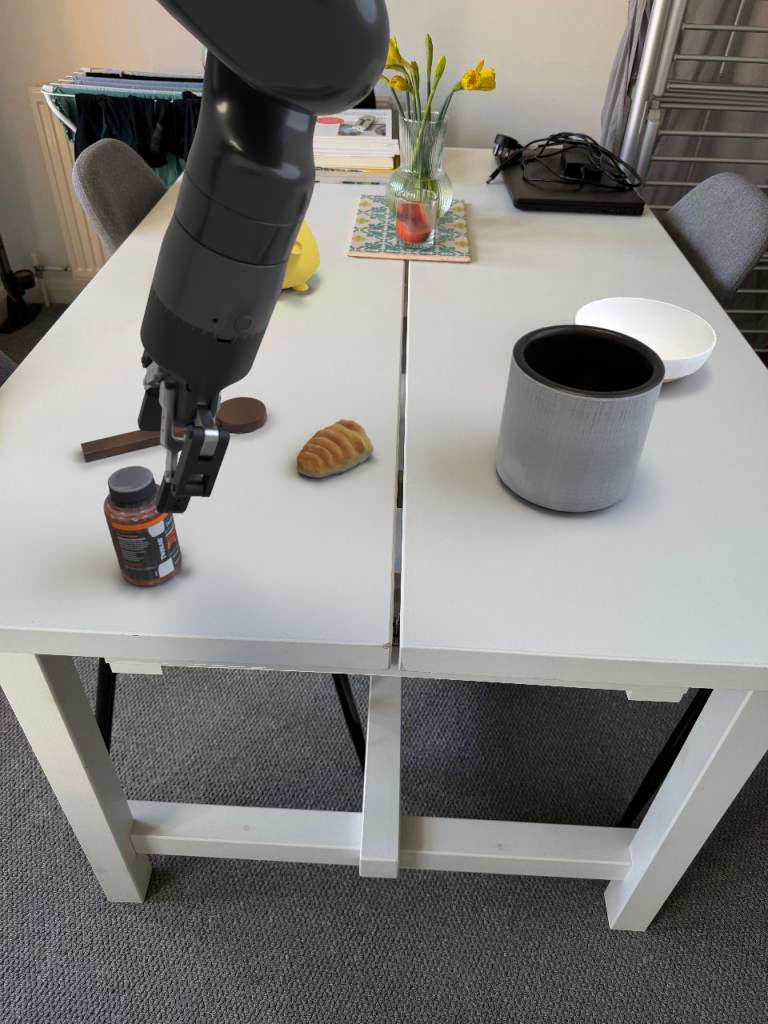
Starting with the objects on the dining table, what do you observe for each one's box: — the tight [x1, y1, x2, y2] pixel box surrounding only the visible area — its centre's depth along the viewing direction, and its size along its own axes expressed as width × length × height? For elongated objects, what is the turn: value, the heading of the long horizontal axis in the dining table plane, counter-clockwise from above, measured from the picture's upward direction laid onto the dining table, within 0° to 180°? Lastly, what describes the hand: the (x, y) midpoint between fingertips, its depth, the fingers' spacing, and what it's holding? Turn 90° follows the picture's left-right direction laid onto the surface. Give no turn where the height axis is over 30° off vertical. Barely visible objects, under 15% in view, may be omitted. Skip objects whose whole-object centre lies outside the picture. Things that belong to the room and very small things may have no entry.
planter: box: [495, 324, 665, 513], centre depth 81 cm, size 16×16×16 cm
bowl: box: [573, 296, 717, 383], centre depth 105 cm, size 20×20×6 cm
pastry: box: [296, 418, 374, 479], centre depth 86 cm, size 9×7×4 cm
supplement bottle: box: [103, 465, 183, 587], centre depth 70 cm, size 6×6×11 cm
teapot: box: [282, 219, 321, 292], centre depth 120 cm, size 20×16×14 cm
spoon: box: [80, 396, 268, 463], centre depth 91 cm, size 23×6×1 cm, turn 117°
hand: (159, 467), depth 57 cm, fingers open, 8 cm apart
